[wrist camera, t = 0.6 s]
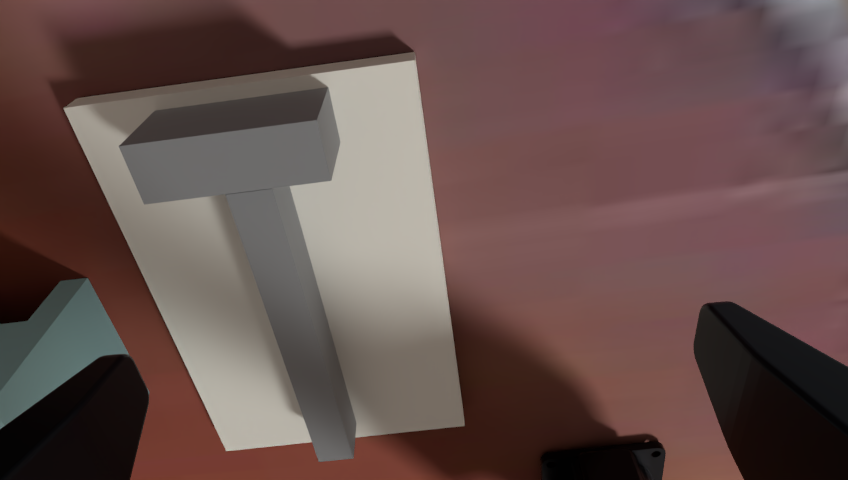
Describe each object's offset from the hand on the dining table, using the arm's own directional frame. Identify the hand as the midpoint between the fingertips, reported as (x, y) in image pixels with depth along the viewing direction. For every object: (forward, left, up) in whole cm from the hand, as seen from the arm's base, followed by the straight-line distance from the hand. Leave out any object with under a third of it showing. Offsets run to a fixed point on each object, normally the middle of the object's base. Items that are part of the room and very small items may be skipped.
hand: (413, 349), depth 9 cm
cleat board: (-8, +6, -14) cm, 17 cm away
